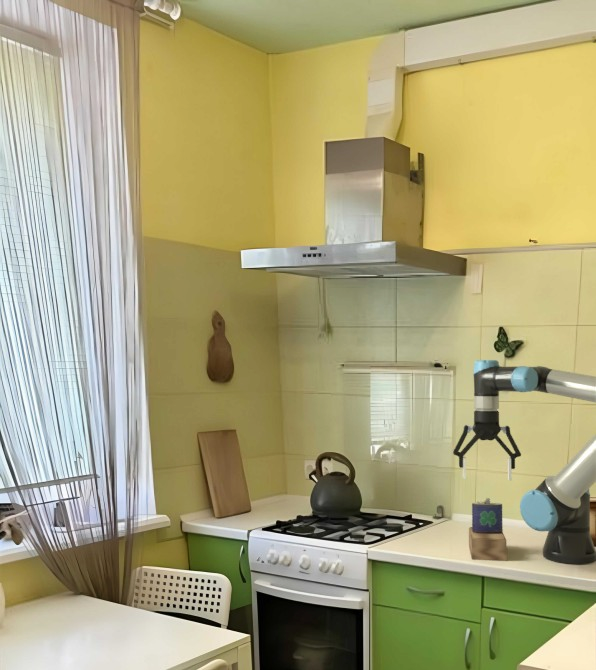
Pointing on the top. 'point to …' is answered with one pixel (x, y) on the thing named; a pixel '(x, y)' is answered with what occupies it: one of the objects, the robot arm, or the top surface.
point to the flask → (487, 517)
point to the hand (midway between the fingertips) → (486, 479)
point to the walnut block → (487, 546)
